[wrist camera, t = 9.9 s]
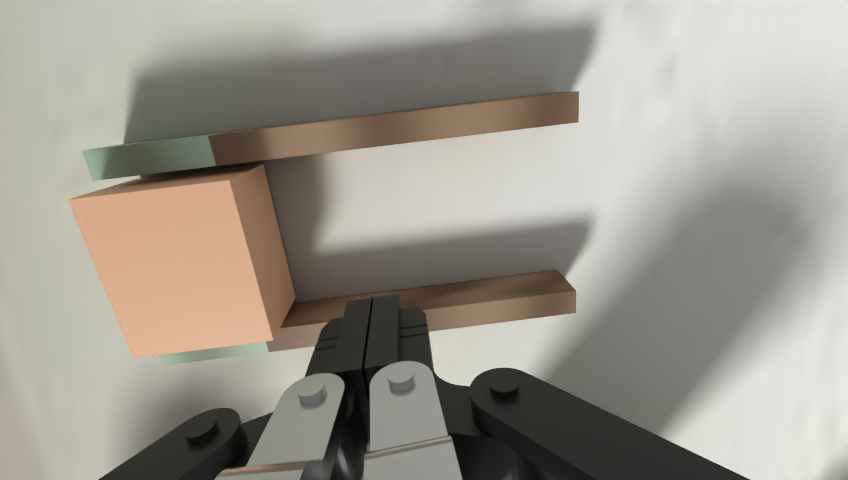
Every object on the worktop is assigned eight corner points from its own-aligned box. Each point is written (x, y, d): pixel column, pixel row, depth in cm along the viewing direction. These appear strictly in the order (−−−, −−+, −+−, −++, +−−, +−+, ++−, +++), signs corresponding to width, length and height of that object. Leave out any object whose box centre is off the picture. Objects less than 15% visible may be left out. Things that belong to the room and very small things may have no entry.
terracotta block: (263, 163, 19) (229, 180, 15) (296, 297, 21) (273, 340, 18) (133, 179, 19) (67, 199, 15) (180, 311, 21) (133, 358, 17)
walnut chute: (556, 92, 19) (578, 91, 16) (557, 290, 22) (575, 312, 20) (122, 144, 19) (81, 151, 16) (190, 336, 22) (164, 365, 20)
